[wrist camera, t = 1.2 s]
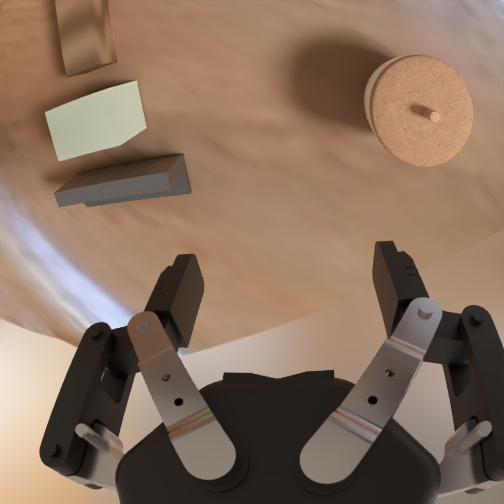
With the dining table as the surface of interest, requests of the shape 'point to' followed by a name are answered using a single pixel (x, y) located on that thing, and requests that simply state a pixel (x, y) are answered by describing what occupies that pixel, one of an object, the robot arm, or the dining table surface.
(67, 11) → the walnut block
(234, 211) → the dining table surface
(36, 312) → the dining table surface
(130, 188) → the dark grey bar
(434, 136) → the lidded jar
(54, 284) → the dining table surface
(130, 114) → the sage block
